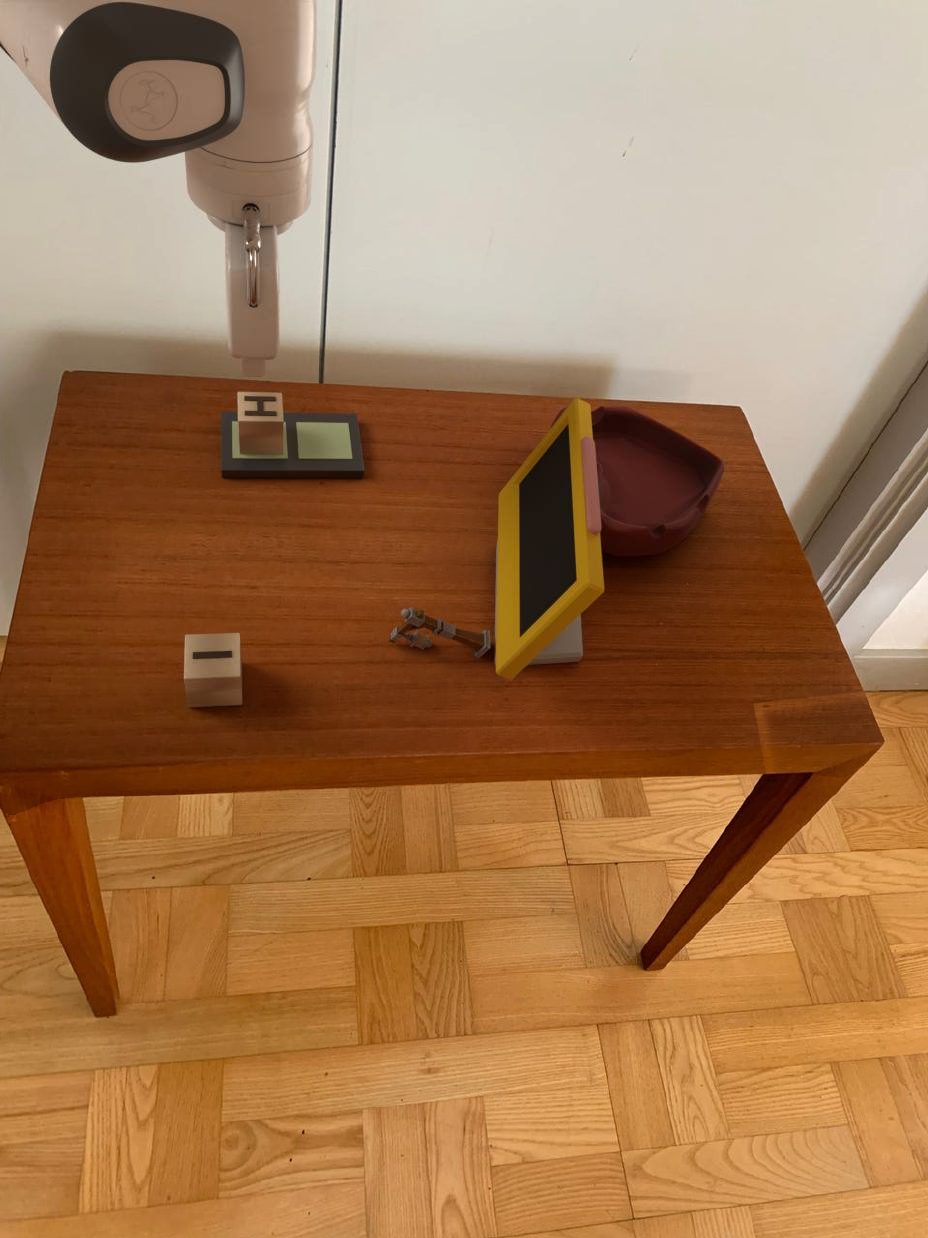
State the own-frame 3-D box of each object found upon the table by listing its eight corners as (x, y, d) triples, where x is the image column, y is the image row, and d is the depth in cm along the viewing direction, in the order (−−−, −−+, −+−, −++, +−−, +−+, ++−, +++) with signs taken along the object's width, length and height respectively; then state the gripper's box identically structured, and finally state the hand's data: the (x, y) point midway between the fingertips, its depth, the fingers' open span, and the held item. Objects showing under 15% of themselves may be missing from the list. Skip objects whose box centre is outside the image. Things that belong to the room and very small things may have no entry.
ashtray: (741, 564, 88) (763, 528, 85) (582, 574, 84) (596, 537, 81) (678, 436, 99) (695, 399, 95) (533, 440, 95) (544, 402, 91)
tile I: (188, 707, 70) (183, 678, 67) (189, 664, 72) (184, 633, 69) (242, 705, 71) (240, 675, 68) (241, 662, 73) (239, 631, 70)
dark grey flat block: (221, 478, 85) (221, 469, 84) (221, 419, 89) (221, 410, 89) (363, 478, 88) (364, 469, 87) (356, 421, 92) (357, 412, 91)
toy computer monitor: (491, 519, 87) (526, 385, 75) (573, 530, 88) (621, 399, 75) (487, 699, 75) (528, 574, 62) (582, 709, 75) (641, 588, 63)
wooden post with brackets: (379, 626, 76) (407, 597, 73) (461, 655, 80) (491, 628, 77) (378, 644, 75) (406, 615, 72) (461, 673, 79) (491, 646, 76)
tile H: (239, 454, 85) (237, 419, 82) (239, 424, 88) (237, 390, 85) (283, 454, 86) (283, 420, 83) (282, 425, 89) (282, 391, 85)
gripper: (302, 256, 61) (297, 419, 72) (288, 109, 73) (285, 267, 84) (202, 250, 59) (212, 417, 70) (205, 101, 71) (213, 263, 82)
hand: (252, 334), depth 77 cm, fingers open, 8 cm apart
